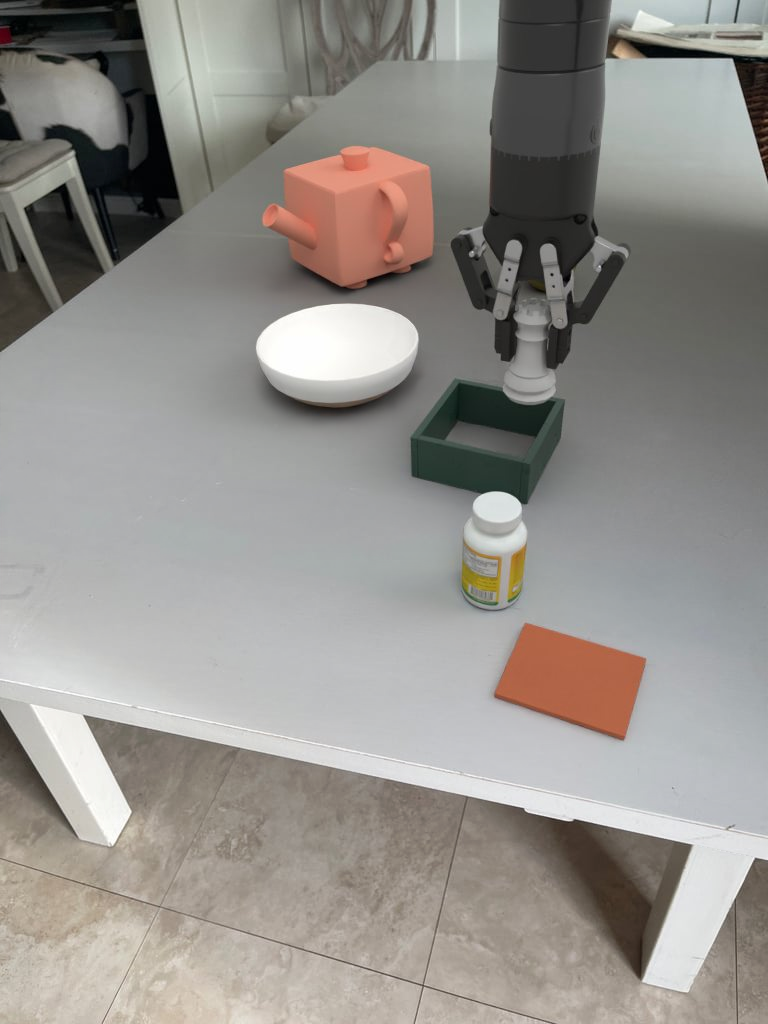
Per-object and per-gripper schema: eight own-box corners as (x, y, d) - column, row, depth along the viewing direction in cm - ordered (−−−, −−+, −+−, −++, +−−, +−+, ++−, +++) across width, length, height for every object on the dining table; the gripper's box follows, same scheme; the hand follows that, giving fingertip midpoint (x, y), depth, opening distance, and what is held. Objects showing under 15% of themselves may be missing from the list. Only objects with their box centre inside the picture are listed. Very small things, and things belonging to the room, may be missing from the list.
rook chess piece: (566, 396, 67) (575, 306, 63) (523, 412, 66) (529, 321, 61) (533, 375, 71) (539, 288, 66) (491, 390, 69) (494, 301, 64)
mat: (645, 662, 65) (646, 658, 64) (624, 740, 59) (625, 736, 59) (525, 626, 68) (525, 622, 68) (494, 697, 63) (494, 693, 62)
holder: (560, 437, 89) (565, 399, 86) (526, 504, 81) (530, 464, 77) (454, 415, 94) (454, 377, 90) (411, 476, 85) (410, 437, 82)
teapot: (315, 322, 114) (301, 193, 102) (238, 273, 128) (219, 155, 117) (451, 273, 124) (452, 152, 113) (367, 233, 139) (360, 122, 127)
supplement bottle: (472, 617, 69) (475, 533, 63) (453, 575, 73) (454, 492, 67) (531, 604, 70) (540, 520, 64) (509, 564, 74) (515, 481, 68)
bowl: (232, 382, 102) (224, 338, 98) (353, 332, 111) (350, 289, 107) (325, 447, 90) (320, 400, 86) (452, 384, 99) (452, 339, 95)
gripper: (660, 128, 56) (627, 354, 66) (468, 118, 61) (466, 329, 71) (638, 158, 50) (606, 398, 61) (430, 144, 56) (434, 368, 66)
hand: (530, 360), depth 66 cm, fingers closed on rook chess piece, 3 cm apart
